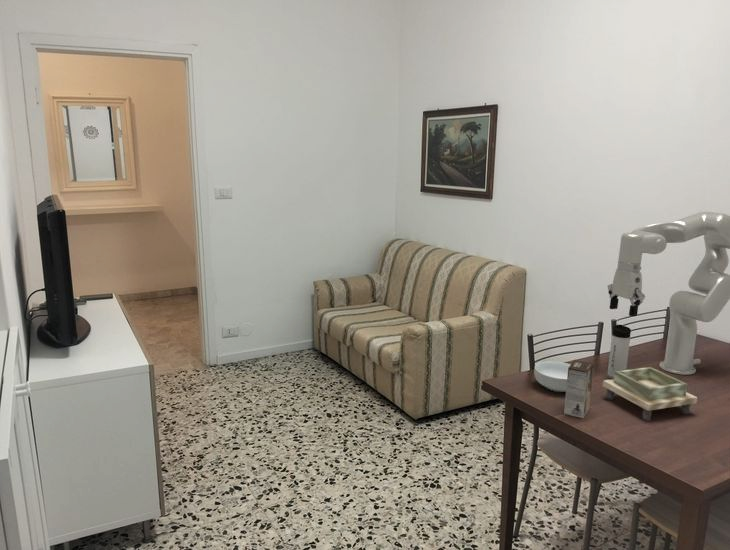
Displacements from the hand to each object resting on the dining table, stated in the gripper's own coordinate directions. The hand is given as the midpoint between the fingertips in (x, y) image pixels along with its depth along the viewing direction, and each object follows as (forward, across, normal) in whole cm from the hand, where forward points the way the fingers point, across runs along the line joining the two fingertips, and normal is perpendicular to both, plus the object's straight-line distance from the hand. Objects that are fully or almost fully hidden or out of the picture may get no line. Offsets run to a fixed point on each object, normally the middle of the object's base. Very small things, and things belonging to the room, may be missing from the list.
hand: (622, 312), depth 206 cm
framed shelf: (+26, -23, +7) cm, 35 cm away
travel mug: (+26, 0, -1) cm, 26 cm away
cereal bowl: (+26, -2, +27) cm, 38 cm away
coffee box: (+26, -20, +33) cm, 47 cm away
